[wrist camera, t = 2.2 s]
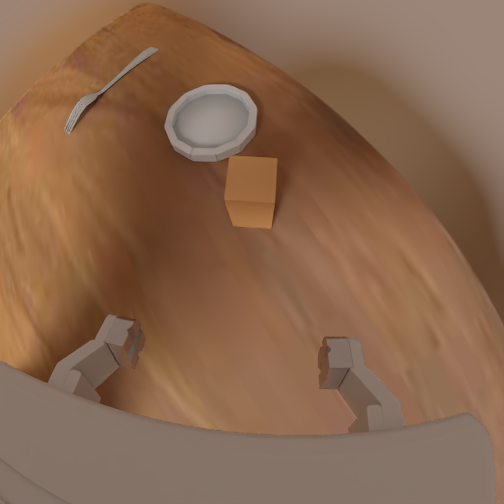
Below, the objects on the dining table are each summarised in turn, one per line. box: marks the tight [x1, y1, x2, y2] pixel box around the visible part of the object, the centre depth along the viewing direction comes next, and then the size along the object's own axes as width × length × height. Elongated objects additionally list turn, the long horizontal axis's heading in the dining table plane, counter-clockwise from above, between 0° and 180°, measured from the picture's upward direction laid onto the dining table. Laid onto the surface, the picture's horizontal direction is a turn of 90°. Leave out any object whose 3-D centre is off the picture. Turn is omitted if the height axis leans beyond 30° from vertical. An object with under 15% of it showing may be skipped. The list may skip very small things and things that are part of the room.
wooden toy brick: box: [224, 156, 278, 229], centre depth 26 cm, size 4×4×8 cm
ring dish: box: [164, 84, 257, 162], centre depth 32 cm, size 11×11×2 cm
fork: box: [64, 47, 158, 135], centre depth 35 cm, size 3×21×3 cm, turn 142°
